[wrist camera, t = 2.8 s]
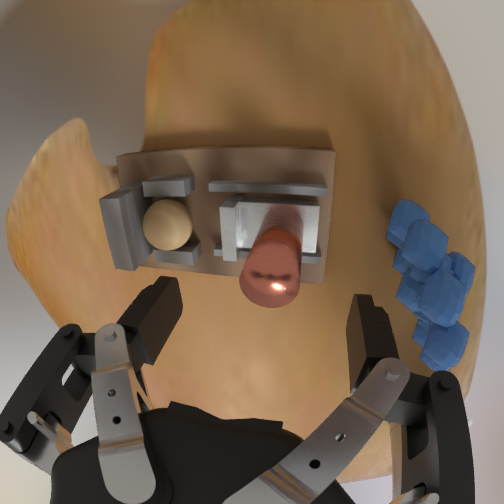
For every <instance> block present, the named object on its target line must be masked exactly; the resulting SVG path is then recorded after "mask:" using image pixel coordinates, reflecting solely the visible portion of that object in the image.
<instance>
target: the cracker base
mask: <svg viewBox="0 0 504 504" xmlns="http://www.w3.org/2000/svg"><path fill="white" fill-rule="evenodd" d="M116 158H117V167H118V174H119V181H120V189H118V190H116V191H114V192H112V193H110V194H108V195H106V196H104V197H102V198H100V199H99V203H100V208H101V212H102V217H103V222H104V226H105V231H106V235H107V239H108V243H109V247H110V251H111V254H112V258H113V262H114V265H115V269H122V270H129V271H135V270H136V269H137V268H138V267H139V266H144V267H152V268H160V269H169V270H178V271H187V272H196V273H206V274H215V275H225V276H235V277H240V274H241V271H242V269H243V266H244V264H245V262H246V259H247V257H248V255H249V252H250V250H251V248H243V250H242V252H241V254H240V256H239V258H238V260H237V262H234V261H223V251H222V238H221V224H220V209H219V207H220V206H221V205H222V204H223V203H224V202H225V201H226V200H227V198H228V197H229V196H230V195H231V194H237V195H244V197H251V198H273V199H291V200H307V201H319V205H320V208H319V221H318V233H317V244H316V253H308V252H302V264H301V276H300V282H303V283H316V284H323V279H324V272H325V264H326V257H327V248H328V240H329V231H330V221H331V210H332V199H333V186H334V171H335V150H334V149H325V148H310V147H291V146H209V147H189V148H175V149H163V150H153V151H143V152H135V153H127V154H123V155H120V156H117V157H116ZM164 199H173V200H176V201H179V202H181V203H182V204H184V205H185V206H186V207H187V209H188V210H189V211H190V213H191V216H192V220H193V229H192V233H191V235H190V237H189V239H188V240H187V242H186V243H185V244H184V245H182V246H181V247H179V248H177V249H174V250H161V249H158V248H156V247H154V246H153V245H151V244H150V243H149V242H148V240H147V239H146V237H145V235H144V232H143V219H144V215H145V213H146V211H147V210H148V209H149V207H150V206H152V205H153V204H154V203H156V202H157V201H160V200H164Z"/></svg>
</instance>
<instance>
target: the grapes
mask: <svg viewBox="0 0 504 504" xmlns="http://www.w3.org/2000/svg"><path fill="white" fill-rule="evenodd" d="M429 218H430V214H429V213H427V212H426V211H425V210H424V209H423V208H422V207H420V206H419V205H418V204H416V203H414V202H413V201H411V200H399V201H398V203H397V204H396V205H395V206H394V209H393V212H392V215H391V218H390V222H389V226H388V231H387V235H386V238H387V239H388V240H389V241H390V242H392V243H393V244H394V245H396V246H397V247H398V250H397V252H396V255H395V258H394V262H393V267H394V268H395V269H396V270H397V271H399V272H400V273H401V274H402V275H403V277H402V279H401V282H400V285H399V287H398V291H397V294H396V298H397V299H398V300H399V301H401V302H402V304H404V305H405V306H406V307H407V308H408V309H409V310H410V311H412V312H413V313H414V315H415V316H416V317H417V318H418V319H419V320H418V322H417V324H416V327H415V330H414V333H413V336H412V339H414V340H415V341H416V342H417V343H418V344H419V345H420V346H421V347H422V348H423V350H422V353H421V355H420V358H419V359H421V360H422V361H423V362H424V363H425V364H426V365H427V366H428V367H429V368H430V369H432V370H434V371H435V372H436V371H439V370H445V371H448V370H449V369H450V368H451V367H454V366H456V365H457V363H458V362H459V361H460V359H461V358H462V356H463V354H464V351H465V348H466V345H467V342H468V338H469V333H470V332H469V331H468V330H467V329H466V328H465V327H464V326H463V325H462V324H460V323H459V322H458V321H457V319H458V318H459V316H460V314H461V312H462V310H463V307H464V303H465V299H466V294H467V293H468V291H469V289H470V287H471V285H472V283H473V278H474V271H475V266H474V265H473V264H472V263H471V262H470V261H469V260H468V259H467V258H466V257H464V256H463V255H461V254H460V253H458V252H451V253H449V254H447V253H446V250H447V245H448V238H449V237H448V236H447V235H446V234H445V233H444V232H443V231H442V230H441V229H439V228H438V227H437V226H436V225H434V224H432V223H431V222H429Z"/></svg>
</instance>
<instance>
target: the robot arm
mask: <svg viewBox="0 0 504 504" xmlns="http://www.w3.org/2000/svg"><path fill="white" fill-rule="evenodd" d="M182 310H183V303H182V298H181V293H180V289H179V284H178V280H177V278H175V277H167V276H160V277H159V278H158V279H157V281H156V282H155V283H154V284H153V285H149V286H148V287H146V288H145V289H143V290H142V291H141V292H140V293H139V295H138V296H137V297H136V299H135V300H134V301H133V302H132V304H131V305H130V306H129V307H128V308H127V310H126V311H125V312H124V314H123V315H122V316H121V317H120V319H119V320H118V321H117V323H111V324H107V325H104V326H102V327H101V328H100V329H99V330H98V331H97V332H96V333H83V332H82V330H81V328H80V326H79V325H77V324H68V325H65V326H63V327H62V328H61V329H60V330H59V331H58V332H57V333H56V334H55V336H54V337H53V338H52V340H51V341H50V342H49V343H48V345H47V346H46V348H45V349H44V350H43V352H42V353H41V354H40V356H39V357H38V358H37V360H36V361H35V362H34V364H33V365H32V367H31V368H30V370H29V371H28V372H27V374H26V375H25V377H24V378H23V380H22V381H21V383H20V384H19V386H18V387H17V389H16V390H15V392H14V393H13V395H12V397H11V398H10V400H9V401H8V403H7V405H6V406H5V408H4V409H3V411H2V413H1V414H0V441H2V442H3V443H4V444H6V445H7V446H8V447H9V448H11V449H12V451H14V452H15V453H16V454H18V455H19V456H20V457H22V458H23V459H25V460H26V461H28V462H29V463H31V464H34V465H35V466H37V467H38V468H40V469H41V470H43V471H45V472H46V473H48V474H49V475H51V482H52V491H51V500H50V504H355V503H354V501H353V500H352V499H351V498H350V496H349V495H348V494H347V493H346V492H345V491H344V489H343V488H342V487H341V485H340V484H339V483H338V482H337V480H336V477H337V476H338V475H339V474H340V473H341V472H342V471H343V470H344V469H345V468H346V467H347V466H348V464H349V463H350V462H351V461H352V460H353V459H354V457H355V456H356V455H357V454H358V453H359V452H360V450H361V449H362V448H363V447H364V445H365V444H366V443H367V442H368V440H369V439H370V438H371V436H372V435H373V434H374V432H375V431H376V430H377V428H378V427H379V426H380V424H381V423H382V421H383V420H385V421H389V422H390V436H391V451H392V475H393V500H392V501H391V502H390V504H475V482H474V467H473V457H472V448H471V440H470V433H469V427H468V422H467V416H466V411H465V407H464V402H463V397H462V393H461V389H460V385H459V382H458V380H457V378H456V377H455V376H454V375H453V374H452V373H450V372H448V371H445V370H439V371H436V372H434V373H433V374H432V375H431V377H430V378H429V377H425V376H421V375H417V374H414V373H411V372H410V370H409V368H408V366H407V365H406V364H405V363H404V362H403V361H401V360H400V359H399V355H398V351H397V347H396V343H395V339H394V335H393V333H392V327H391V325H390V320H389V317H388V314H387V313H386V312H385V311H384V309H383V308H382V307H375V306H374V302H373V298H372V296H371V295H366V294H354V296H353V300H352V304H351V308H350V312H349V316H348V320H347V327H346V336H347V347H348V360H349V375H350V393H353V394H352V395H351V396H350V397H349V398H346V399H345V400H343V401H342V403H341V404H340V405H339V406H338V407H337V408H336V409H335V410H334V411H333V412H332V413H331V414H330V415H329V416H328V417H327V418H326V419H325V421H324V422H323V423H322V424H321V425H320V426H319V427H318V428H317V429H316V430H314V431H313V432H312V433H311V434H310V435H309V436H308V437H307V438H306V439H305V440H303V439H302V438H301V437H299V436H298V435H296V434H294V433H292V432H290V431H288V430H285V429H282V425H283V422H282V421H272V420H264V419H256V418H249V419H229V420H224V419H220V418H218V417H215V416H213V415H211V414H209V413H207V412H205V411H203V410H201V409H199V408H197V407H193V406H189V405H185V404H181V403H177V402H173V401H171V402H170V404H169V407H168V408H157V409H154V408H153V405H152V403H151V400H150V396H149V393H148V389H147V386H146V382H145V378H144V374H143V370H142V368H141V367H142V365H143V364H144V363H146V364H150V365H153V364H154V362H155V361H156V359H157V357H158V355H159V353H160V352H161V350H162V348H163V346H164V344H165V343H166V341H167V339H168V337H169V336H170V334H171V332H172V330H173V329H174V327H175V325H176V323H177V321H178V320H179V318H180V316H181V314H182ZM70 364H72V366H73V367H74V370H73V371H72V373H71V375H70V376H69V377H68V379H67V381H66V382H65V384H64V385H63V386H62V377H63V375H64V373H65V372H66V370H67V369H68V367H69V366H70ZM92 393H93V401H94V410H95V417H96V424H97V430H98V436H96V437H94V438H92V439H90V440H88V441H86V442H84V443H81V444H79V445H77V446H75V447H73V445H72V444H71V433H72V431H73V429H74V427H75V425H76V423H77V421H78V419H79V417H80V416H81V414H82V412H83V410H84V408H85V406H86V404H87V402H88V401H89V398H90V397H91V395H92Z"/></svg>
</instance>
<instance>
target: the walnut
mask: <svg viewBox="0 0 504 504" xmlns="http://www.w3.org/2000/svg"><path fill="white" fill-rule="evenodd" d="M192 229H193V220H192V216H191V213H190V211H189V210H188V209H187V207H186V206H185V205H184V204H182V203H181V202H179V201H176V200H173V199H164V200H160V201H157V202H156V203H154V204H153V205H152V206H150V207H149V209H148V210H147V211H146V213H145V215H144V219H143V232H144V235H145V237H146V239H147V240H148V242H149V243H150V244H151V245H153V246H154V247H156V248H158V249H161V250H174V249H177V248H179V247H181V246H182V245H184V244H185V243H186V242H187V240H188V239H189V237H190V235H191V233H192Z"/></svg>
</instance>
